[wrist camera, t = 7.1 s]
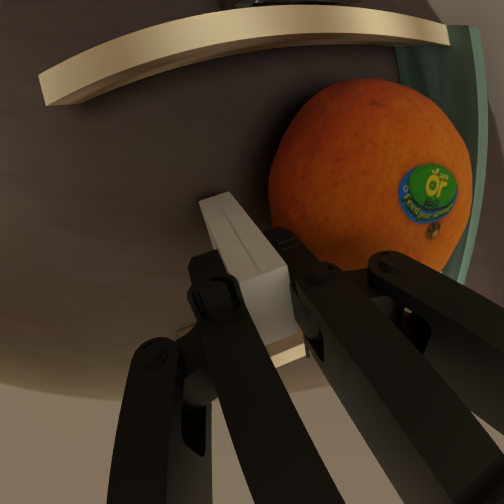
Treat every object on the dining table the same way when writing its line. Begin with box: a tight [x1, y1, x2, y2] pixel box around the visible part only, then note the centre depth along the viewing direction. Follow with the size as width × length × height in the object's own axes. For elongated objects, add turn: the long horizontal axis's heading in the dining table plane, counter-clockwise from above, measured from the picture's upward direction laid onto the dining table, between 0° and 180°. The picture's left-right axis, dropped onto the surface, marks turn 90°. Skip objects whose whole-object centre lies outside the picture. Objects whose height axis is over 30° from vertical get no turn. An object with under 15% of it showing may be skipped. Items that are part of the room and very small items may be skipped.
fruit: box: [268, 79, 472, 272], centre depth 13 cm, size 11×10×8 cm
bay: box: [39, 5, 488, 368], centre depth 13 cm, size 19×17×6 cm
